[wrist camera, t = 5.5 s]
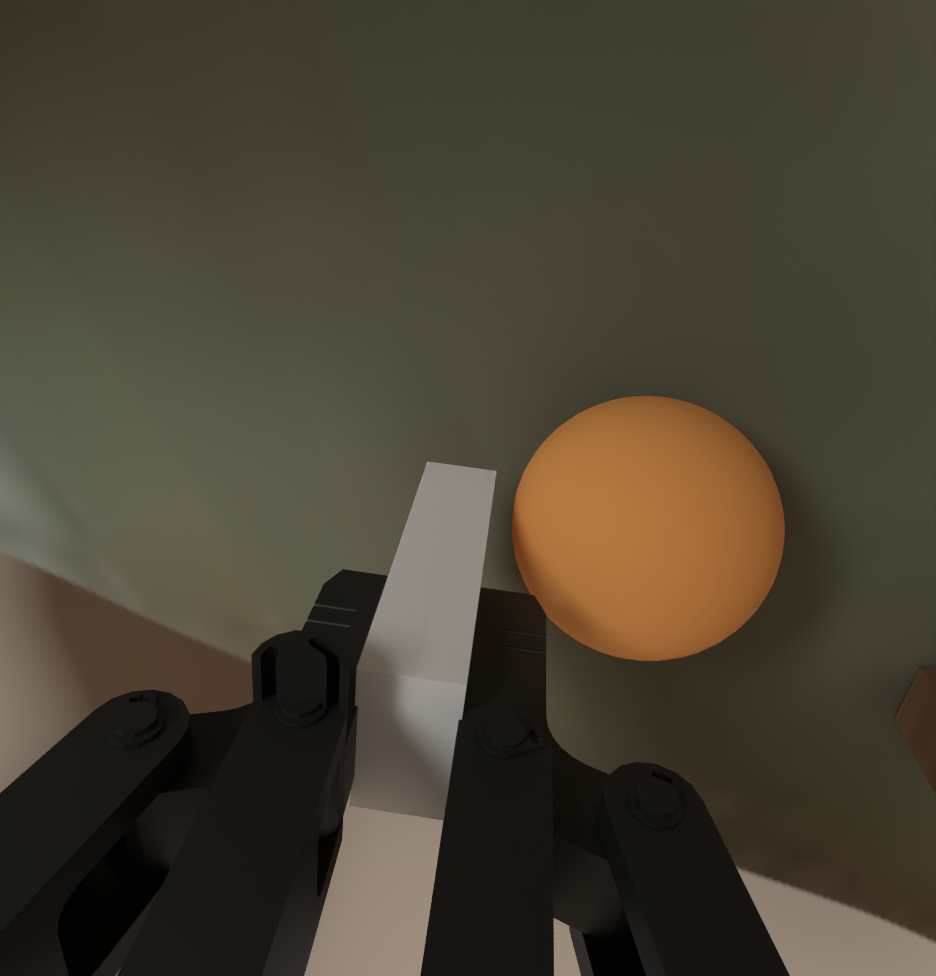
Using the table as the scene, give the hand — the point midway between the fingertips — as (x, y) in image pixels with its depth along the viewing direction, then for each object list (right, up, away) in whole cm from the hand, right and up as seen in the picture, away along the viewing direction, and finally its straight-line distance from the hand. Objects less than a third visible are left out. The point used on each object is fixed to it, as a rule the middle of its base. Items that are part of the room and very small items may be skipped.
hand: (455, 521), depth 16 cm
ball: (+4, 0, -1) cm, 4 cm away
